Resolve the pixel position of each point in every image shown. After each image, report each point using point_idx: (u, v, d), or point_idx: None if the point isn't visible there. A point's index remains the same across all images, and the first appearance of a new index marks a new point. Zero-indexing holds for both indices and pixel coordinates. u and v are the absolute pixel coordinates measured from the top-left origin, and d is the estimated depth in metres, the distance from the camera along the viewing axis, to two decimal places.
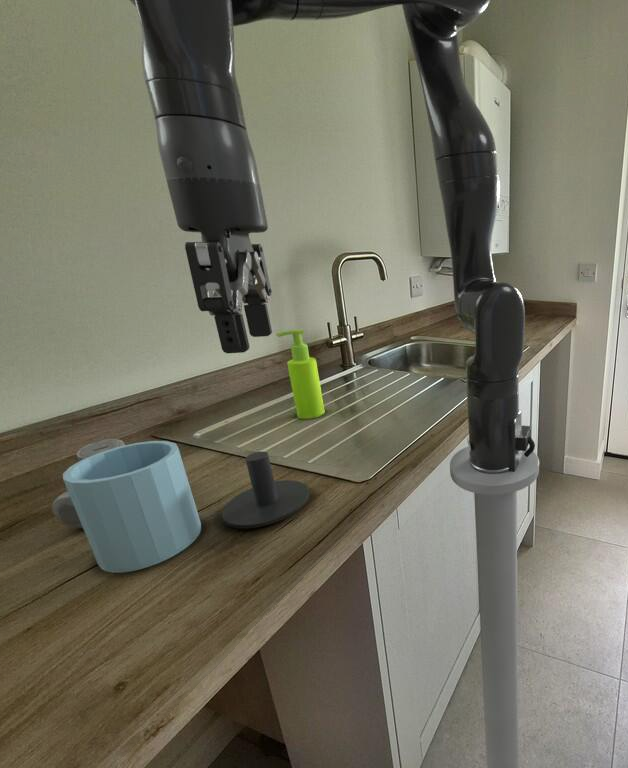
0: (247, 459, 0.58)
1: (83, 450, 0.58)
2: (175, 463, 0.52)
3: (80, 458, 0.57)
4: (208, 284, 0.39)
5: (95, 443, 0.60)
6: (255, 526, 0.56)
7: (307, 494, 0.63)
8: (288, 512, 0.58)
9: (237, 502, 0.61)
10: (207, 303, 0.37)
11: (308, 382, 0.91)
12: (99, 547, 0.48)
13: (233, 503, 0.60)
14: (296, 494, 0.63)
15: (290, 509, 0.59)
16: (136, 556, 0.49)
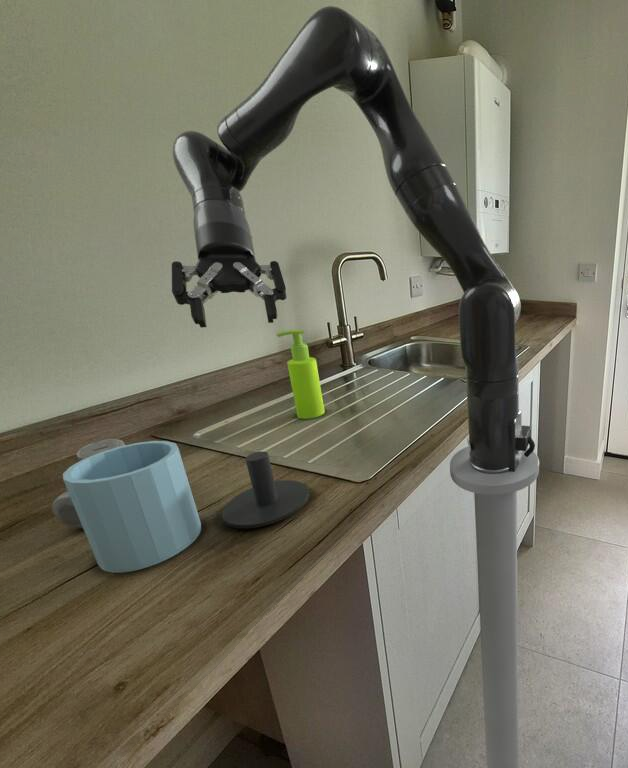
0: (247, 459, 0.58)
1: (83, 450, 0.58)
2: (175, 463, 0.52)
3: (80, 458, 0.57)
4: None
5: (95, 443, 0.60)
6: (255, 526, 0.56)
7: (307, 494, 0.63)
8: (288, 512, 0.58)
9: (237, 502, 0.61)
10: None
11: (308, 382, 0.91)
12: (99, 547, 0.48)
13: (233, 503, 0.60)
14: (296, 494, 0.63)
15: (290, 509, 0.59)
16: (136, 556, 0.49)
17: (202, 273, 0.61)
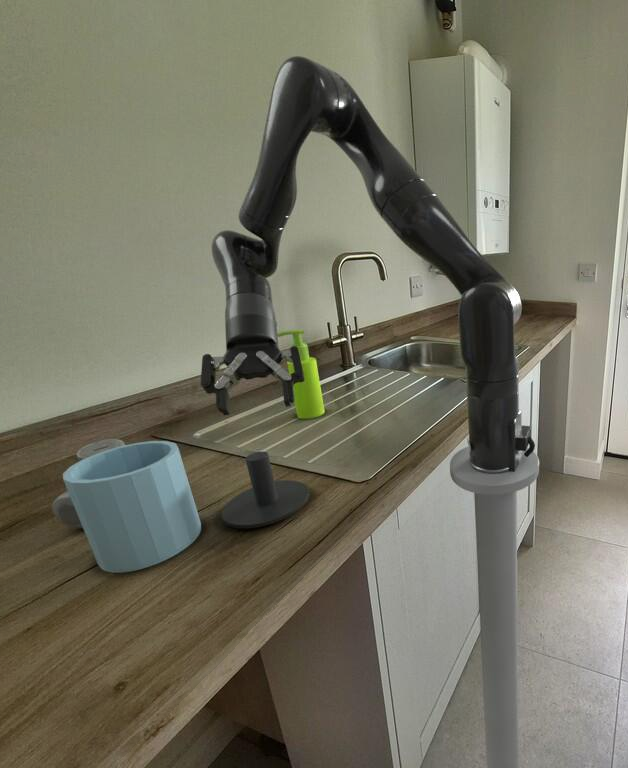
0: (247, 459, 0.58)
1: (83, 450, 0.58)
2: (175, 463, 0.52)
3: (80, 458, 0.57)
4: None
5: (95, 443, 0.60)
6: (255, 526, 0.56)
7: (307, 494, 0.63)
8: (288, 512, 0.58)
9: (237, 502, 0.61)
10: None
11: (308, 382, 0.91)
12: (99, 547, 0.48)
13: (233, 503, 0.60)
14: (296, 494, 0.63)
15: (290, 509, 0.59)
16: (136, 556, 0.49)
17: (228, 363, 0.66)
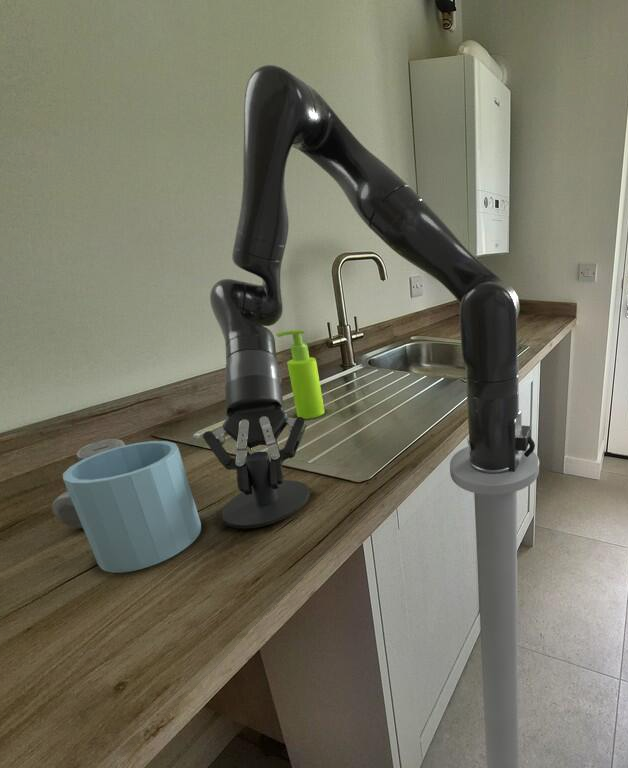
0: (247, 459, 0.58)
1: (83, 450, 0.58)
2: (175, 463, 0.52)
3: (80, 458, 0.57)
4: None
5: (95, 443, 0.60)
6: (255, 526, 0.56)
7: (307, 494, 0.63)
8: (288, 512, 0.58)
9: (237, 502, 0.61)
10: None
11: (308, 382, 0.91)
12: (99, 547, 0.48)
13: (233, 503, 0.60)
14: (296, 494, 0.63)
15: (290, 509, 0.59)
16: (136, 556, 0.49)
17: (229, 432, 0.60)
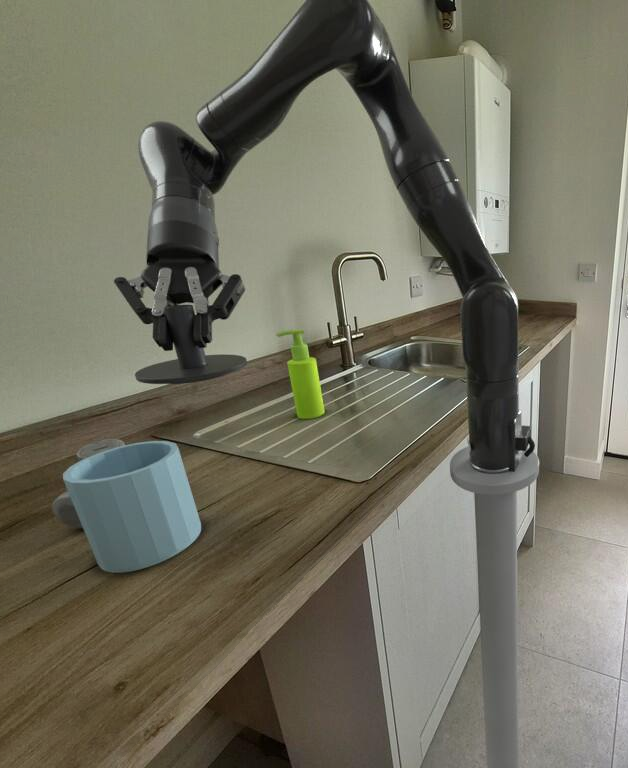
0: (165, 307, 0.49)
1: (83, 450, 0.58)
2: (175, 463, 0.52)
3: (80, 458, 0.57)
4: None
5: (95, 443, 0.60)
6: (171, 381, 0.47)
7: (243, 362, 0.53)
8: (215, 372, 0.49)
9: (158, 366, 0.52)
10: None
11: (308, 382, 0.91)
12: (99, 547, 0.48)
13: (153, 367, 0.51)
14: (230, 362, 0.53)
15: (218, 370, 0.50)
16: (136, 556, 0.49)
17: (148, 281, 0.51)
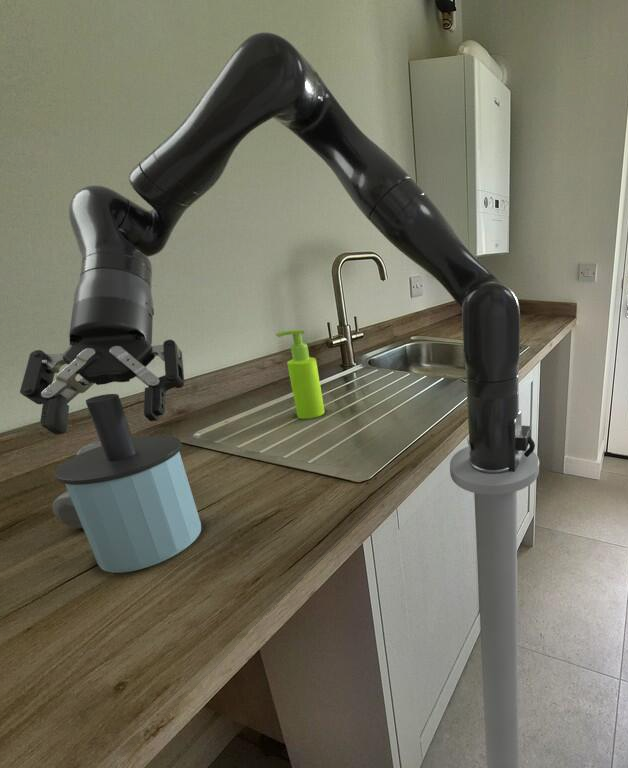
0: (87, 401, 0.47)
1: (83, 450, 0.58)
2: (175, 463, 0.52)
3: None
4: None
5: (95, 443, 0.60)
6: (91, 482, 0.45)
7: (175, 448, 0.51)
8: (140, 466, 0.47)
9: (85, 456, 0.50)
10: None
11: (308, 382, 0.91)
12: (99, 547, 0.48)
13: (79, 458, 0.49)
14: (161, 448, 0.51)
15: (144, 464, 0.48)
16: (136, 556, 0.49)
17: (69, 363, 0.48)
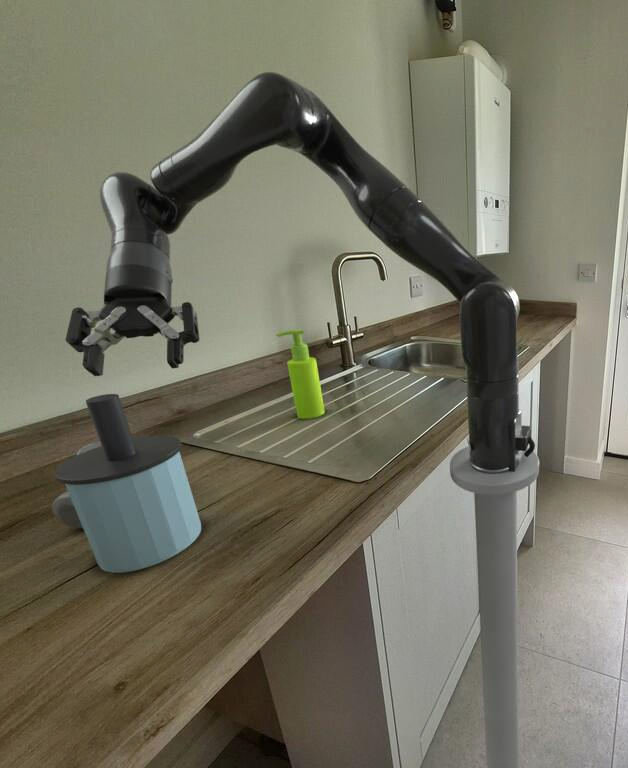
0: (87, 401, 0.47)
1: (83, 450, 0.58)
2: (175, 463, 0.52)
3: None
4: None
5: (95, 443, 0.60)
6: (91, 482, 0.45)
7: (175, 448, 0.51)
8: (140, 466, 0.47)
9: (85, 456, 0.50)
10: None
11: (308, 382, 0.91)
12: (99, 547, 0.48)
13: (79, 458, 0.49)
14: (161, 448, 0.51)
15: (144, 464, 0.48)
16: (136, 556, 0.49)
17: (104, 318, 0.58)
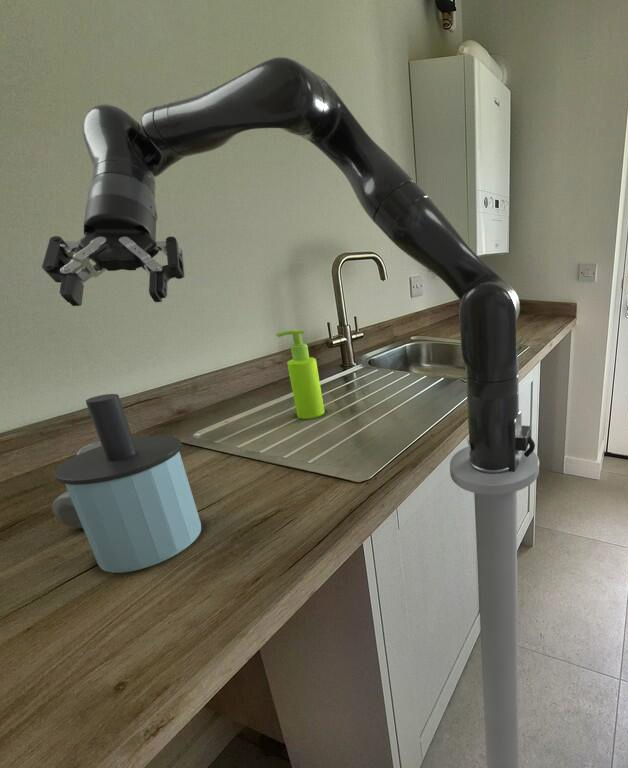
0: (87, 401, 0.47)
1: (83, 450, 0.58)
2: (175, 463, 0.52)
3: None
4: None
5: (95, 443, 0.60)
6: (91, 482, 0.45)
7: (175, 448, 0.51)
8: (140, 466, 0.47)
9: (85, 456, 0.50)
10: None
11: (308, 382, 0.91)
12: (99, 547, 0.48)
13: (79, 458, 0.49)
14: (161, 448, 0.51)
15: (144, 464, 0.48)
16: (136, 556, 0.49)
17: (84, 248, 0.55)
